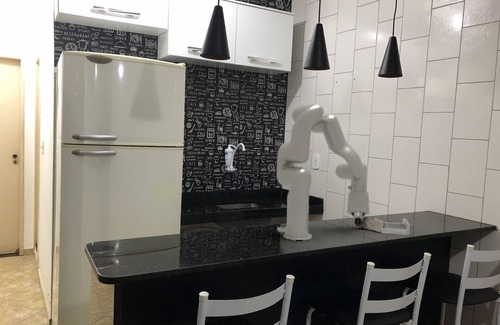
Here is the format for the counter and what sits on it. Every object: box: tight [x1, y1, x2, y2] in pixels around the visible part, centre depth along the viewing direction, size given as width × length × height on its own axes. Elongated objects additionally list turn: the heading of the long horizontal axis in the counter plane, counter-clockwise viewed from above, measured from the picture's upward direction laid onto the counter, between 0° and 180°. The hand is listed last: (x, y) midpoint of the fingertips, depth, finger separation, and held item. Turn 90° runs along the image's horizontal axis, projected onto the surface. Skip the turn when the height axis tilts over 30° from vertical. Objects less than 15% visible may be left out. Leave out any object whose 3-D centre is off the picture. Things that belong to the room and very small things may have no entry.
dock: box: [380, 217, 411, 236], centre depth 194 cm, size 12×15×5 cm
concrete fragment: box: [357, 215, 386, 233], centre depth 196 cm, size 7×14×6 cm, turn 29°
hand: (357, 225), depth 198 cm, fingers closed
